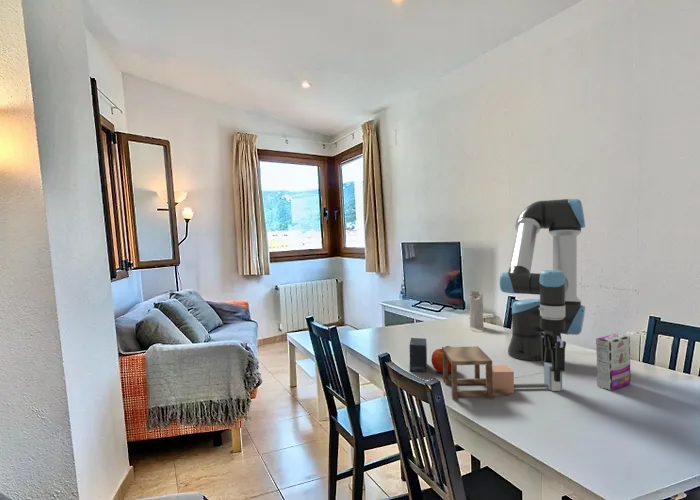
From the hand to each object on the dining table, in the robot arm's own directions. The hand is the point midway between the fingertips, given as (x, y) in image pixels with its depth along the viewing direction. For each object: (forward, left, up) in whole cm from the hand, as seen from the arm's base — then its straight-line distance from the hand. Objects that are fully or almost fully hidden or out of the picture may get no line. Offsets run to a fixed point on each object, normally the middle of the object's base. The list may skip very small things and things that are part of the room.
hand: (552, 387), depth 135 cm
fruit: (+32, -18, -1) cm, 37 cm away
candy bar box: (-21, -2, -1) cm, 21 cm away
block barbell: (+9, 0, 0) cm, 9 cm away
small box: (+41, -23, -1) cm, 47 cm away
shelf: (+25, 0, 0) cm, 25 cm away
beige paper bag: (+2, -83, -1) cm, 83 cm away
